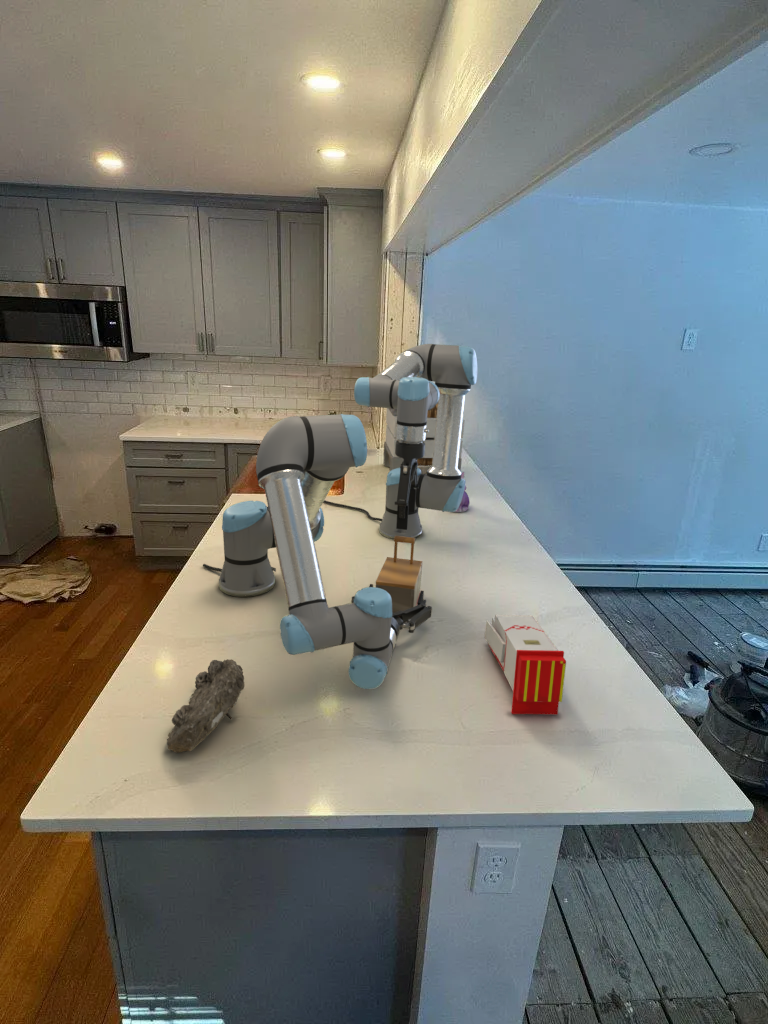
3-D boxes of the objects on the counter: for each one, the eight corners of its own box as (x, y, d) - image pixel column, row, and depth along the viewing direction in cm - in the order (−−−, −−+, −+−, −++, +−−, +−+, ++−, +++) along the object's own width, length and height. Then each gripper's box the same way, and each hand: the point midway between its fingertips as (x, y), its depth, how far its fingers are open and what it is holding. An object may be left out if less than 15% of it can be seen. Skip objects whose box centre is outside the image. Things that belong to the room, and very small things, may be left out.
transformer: (382, 463, 289) (386, 382, 275) (445, 464, 293) (451, 384, 279) (390, 482, 257) (394, 392, 243) (460, 483, 261) (468, 394, 247)
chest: (385, 589, 160) (386, 560, 157) (420, 593, 158) (422, 564, 155) (374, 615, 146) (375, 584, 143) (412, 620, 145) (414, 589, 142)
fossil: (192, 660, 117) (244, 628, 112) (224, 691, 120) (276, 661, 115) (142, 746, 98) (202, 712, 93) (182, 779, 101) (242, 748, 96)
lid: (386, 559, 158) (388, 531, 155) (422, 564, 156) (424, 535, 153) (375, 584, 143) (376, 553, 140) (414, 589, 142) (416, 558, 139)
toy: (530, 600, 137) (574, 657, 108) (525, 651, 140) (567, 720, 111) (480, 599, 137) (511, 656, 107) (477, 651, 139) (506, 719, 110)
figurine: (456, 514, 221) (459, 477, 216) (441, 506, 229) (444, 470, 224) (475, 511, 225) (479, 475, 220) (461, 503, 234) (464, 468, 229)
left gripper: (326, 642, 129) (349, 598, 149) (434, 658, 125) (443, 611, 145) (327, 613, 127) (350, 573, 147) (436, 628, 123) (445, 584, 143)
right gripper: (418, 453, 130) (413, 538, 137) (431, 432, 153) (425, 506, 161) (386, 450, 132) (382, 535, 139) (403, 430, 155) (399, 503, 162)
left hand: (396, 591), depth 146 cm, fingers open, 12 cm apart
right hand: (405, 519), depth 150 cm, fingers open, 13 cm apart
